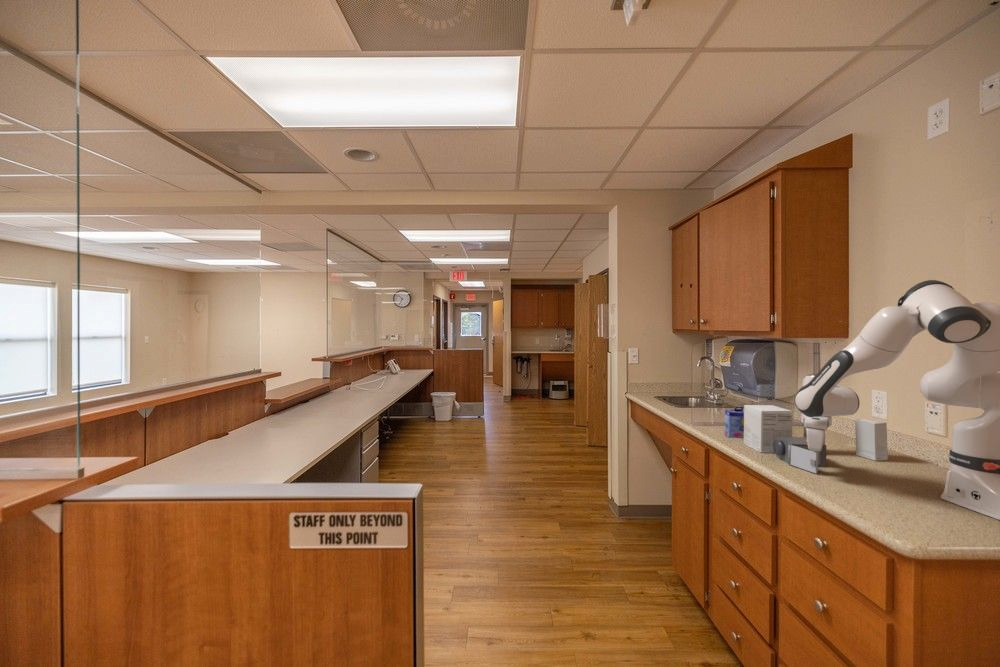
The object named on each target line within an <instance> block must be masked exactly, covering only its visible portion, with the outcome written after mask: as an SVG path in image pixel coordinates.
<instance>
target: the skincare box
mask: <svg viewBox="0 0 1000 667" xmlns="http://www.w3.org/2000/svg"><path fill="white" fill-rule="evenodd" d="M887 423H888V422H884V421H880V420H879V421H878V420H873V419H869V418H861V419H860V418H858V419H855V420H854V425H855V427H854V428H855V455H856V456H858V457H862V458H865V459H869V460H871V461H880V462H881V461H882V462H883V461H884V462H886V461H888V460H889V457H888V455H889V454H888V452H889V448H888V430H887V429H888V426H887Z"/></svg>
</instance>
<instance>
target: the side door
mask: <svg viewBox="0 0 1000 667" xmlns="http://www.w3.org/2000/svg"><path fill="white" fill-rule="evenodd" d="M787 465H790V466H793V467H796V468H798V469H802V470H805V471H807V472H810V473H813V474H818V468H819V466H818V453H816V452H813V451H810V450H806V449H803V448H800V447H796V446H793V445H788V463H787Z"/></svg>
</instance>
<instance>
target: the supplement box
mask: <svg viewBox="0 0 1000 667" xmlns="http://www.w3.org/2000/svg"><path fill="white" fill-rule="evenodd" d="M743 410H744V438H743V445H745V446H746V447H749V448H751V449H753V450H754V451H757V452H759V453H764V454H765V453H767V454H768V453H770V454H772V453H773V454H776V453H775V452H774V448H773V444H774V441H776V436H781V437H793V420H794V419H793V418H794V417H793V416H794V415H793V414H794V413H793V412H794V411H793V410H790V409H786V408H783V407H781V406H780V407H779V406H776V405H774V404H773V405H772V404H770V405H769V404H764V405H762V404H744V405H743Z"/></svg>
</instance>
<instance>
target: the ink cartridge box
mask: <svg viewBox="0 0 1000 667" xmlns="http://www.w3.org/2000/svg"><path fill="white" fill-rule="evenodd" d="M724 435H725V436H726V435H727V436H726V437H727V438H734V437H739V439H744V406H735V408H734V409H725V410H724Z"/></svg>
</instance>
